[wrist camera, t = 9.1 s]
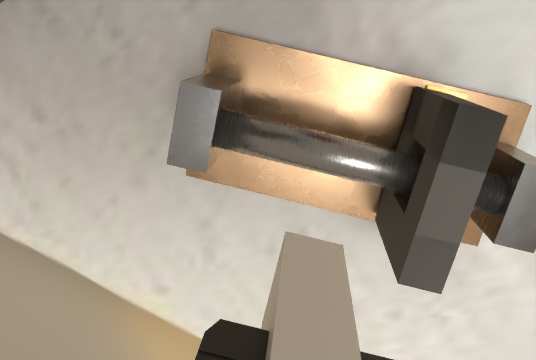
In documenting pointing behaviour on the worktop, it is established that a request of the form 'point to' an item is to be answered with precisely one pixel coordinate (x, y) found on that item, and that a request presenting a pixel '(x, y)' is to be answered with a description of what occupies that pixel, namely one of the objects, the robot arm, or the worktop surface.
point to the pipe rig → (333, 136)
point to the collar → (437, 185)
